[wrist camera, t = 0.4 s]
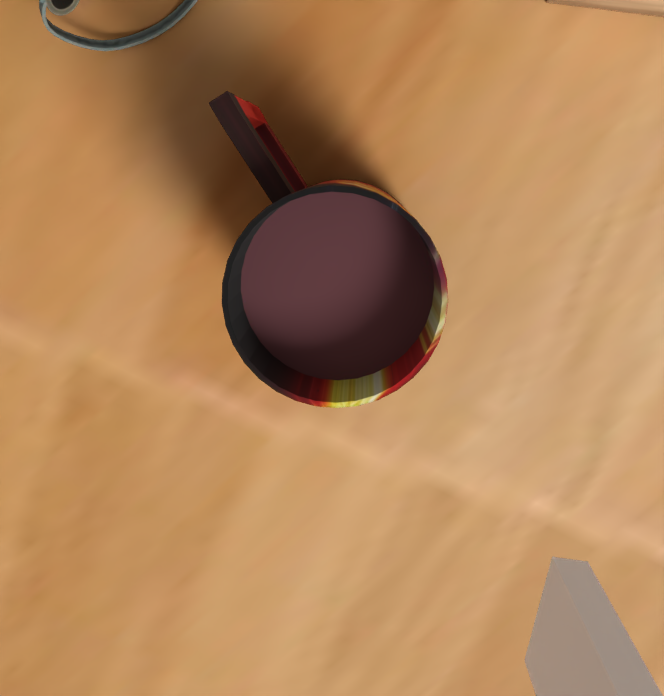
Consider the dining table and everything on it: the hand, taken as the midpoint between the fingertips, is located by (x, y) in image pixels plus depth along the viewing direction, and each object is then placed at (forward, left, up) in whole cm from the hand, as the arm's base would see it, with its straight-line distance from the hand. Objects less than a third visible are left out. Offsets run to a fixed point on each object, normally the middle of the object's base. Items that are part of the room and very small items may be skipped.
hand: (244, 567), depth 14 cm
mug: (-4, -1, -27) cm, 27 cm away
